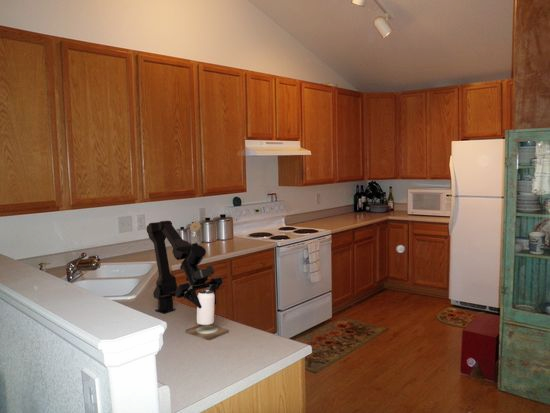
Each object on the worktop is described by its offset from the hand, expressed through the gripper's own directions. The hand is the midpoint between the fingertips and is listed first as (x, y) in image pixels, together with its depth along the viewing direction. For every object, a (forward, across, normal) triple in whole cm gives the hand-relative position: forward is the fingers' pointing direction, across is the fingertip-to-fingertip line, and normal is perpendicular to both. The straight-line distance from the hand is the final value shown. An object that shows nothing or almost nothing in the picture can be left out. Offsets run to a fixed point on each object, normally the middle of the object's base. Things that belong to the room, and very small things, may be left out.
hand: (208, 306), depth 166 cm
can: (+4, -1, +6) cm, 7 cm away
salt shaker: (-76, +67, +94) cm, 138 cm away
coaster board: (+7, 0, +8) cm, 11 cm away
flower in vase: (-86, +74, +104) cm, 154 cm away
